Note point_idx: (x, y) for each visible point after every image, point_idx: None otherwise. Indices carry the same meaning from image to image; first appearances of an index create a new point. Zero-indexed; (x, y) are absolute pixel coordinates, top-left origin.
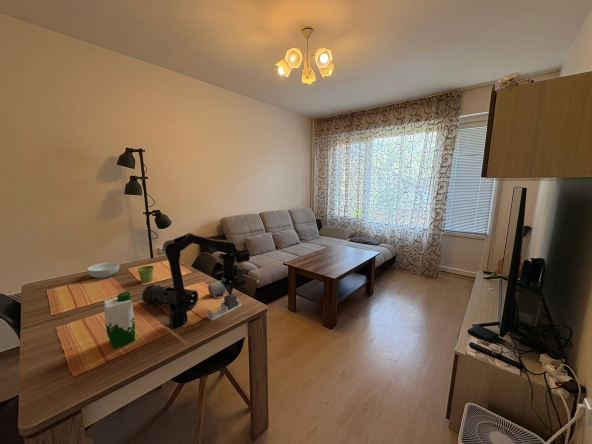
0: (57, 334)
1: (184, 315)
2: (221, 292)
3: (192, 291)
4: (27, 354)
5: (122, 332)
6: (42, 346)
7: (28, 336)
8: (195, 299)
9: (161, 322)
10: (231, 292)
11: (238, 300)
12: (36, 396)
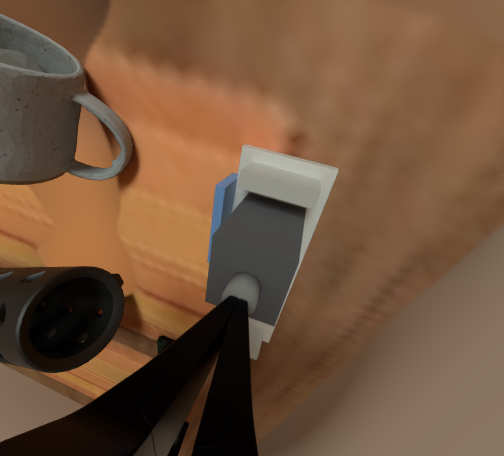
0: (49, 377)
1: (187, 424)
2: (71, 112)
3: (28, 361)
4: (82, 404)
5: None
6: (73, 395)
7: (33, 379)
8: (76, 277)
9: (130, 347)
10: (248, 318)
11: (310, 201)
12: (179, 452)
